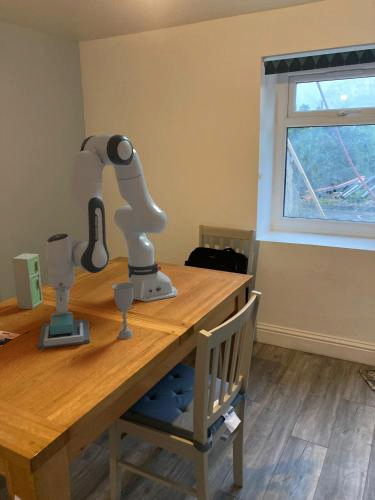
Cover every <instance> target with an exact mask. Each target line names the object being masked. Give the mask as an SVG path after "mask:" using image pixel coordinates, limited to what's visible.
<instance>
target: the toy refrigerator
mask: <svg viewBox="0 0 375 500" xmlns="http://www.w3.org/2000/svg"><path fill="white" fill-rule="evenodd" d="M12 266H13V275H14V285H15V293H16V300H17V302H16V303H17V307H18V309H25V310H26V309H27V310H33V309H34V308H36V307H38V306H39V305H41V304H42V303H43V302H44V298H43V289H42V279H41V267H40V258H39V254H38V253H28V252H27V253H26V252H24V253H22V254H19V255H17V256H15V257H13V258H12Z"/></svg>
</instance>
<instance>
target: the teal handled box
mask: <svg viewBox="0 0 375 500" xmlns="http://www.w3.org/2000/svg"><path fill="white" fill-rule="evenodd" d="M73 320H74V313H73V312H72V311H67V313H57V312H55V313H52V314H51V318H50V320H49V321H50V322H49V323H50V326H49V327H50V335H52V337H55V336H56V334H63V333H68V335H72V332H73Z"/></svg>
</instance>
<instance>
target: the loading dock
mask: <svg viewBox="0 0 375 500" xmlns="http://www.w3.org/2000/svg"><path fill="white" fill-rule="evenodd" d="M49 326H50V322H47V323H45V322H44V323H42V326H41V329H40V333H39V340H38V342H37V349H38V350H41V349H42V350H43V349H44V350H45V349H49V348H50V349H51V348H52V349H53V348H58V347H66V346H74V345H82V344H90V343H91V342H90V327H89V318H82V319H81V318H80V319H73V332H72V335H68V333H63V334H56V336H55V337H52V335H50V327H49Z"/></svg>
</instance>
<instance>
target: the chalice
mask: <svg viewBox="0 0 375 500" xmlns="http://www.w3.org/2000/svg"><path fill="white" fill-rule="evenodd" d="M133 287H134V284H133V283H128V282H118V283H116V284H115V283H114V284H113V285H112V289H113V295H114V297H113V298H114V303H115V305H116V306H117V309H118V310H119V312H120V313H122V319H123V320H122V324H123V325H122V326H123V327H122V328H121V329H120V330H119V333H118V335H117V337H118V339H121V340H126V339H127V340H128V339H131V338H132V337H134V334H133V333H132V330H131V329H130V328H129V327H128V326H127V324H128V321H127V319H128V316H127V313H128V312H129V311H130V309H131V307H132V304H133V301H134V299H133Z"/></svg>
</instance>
